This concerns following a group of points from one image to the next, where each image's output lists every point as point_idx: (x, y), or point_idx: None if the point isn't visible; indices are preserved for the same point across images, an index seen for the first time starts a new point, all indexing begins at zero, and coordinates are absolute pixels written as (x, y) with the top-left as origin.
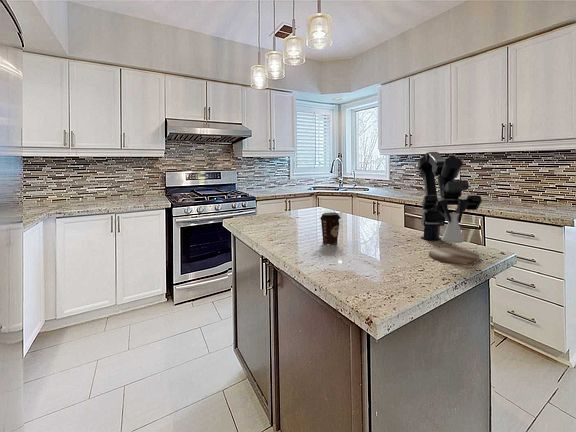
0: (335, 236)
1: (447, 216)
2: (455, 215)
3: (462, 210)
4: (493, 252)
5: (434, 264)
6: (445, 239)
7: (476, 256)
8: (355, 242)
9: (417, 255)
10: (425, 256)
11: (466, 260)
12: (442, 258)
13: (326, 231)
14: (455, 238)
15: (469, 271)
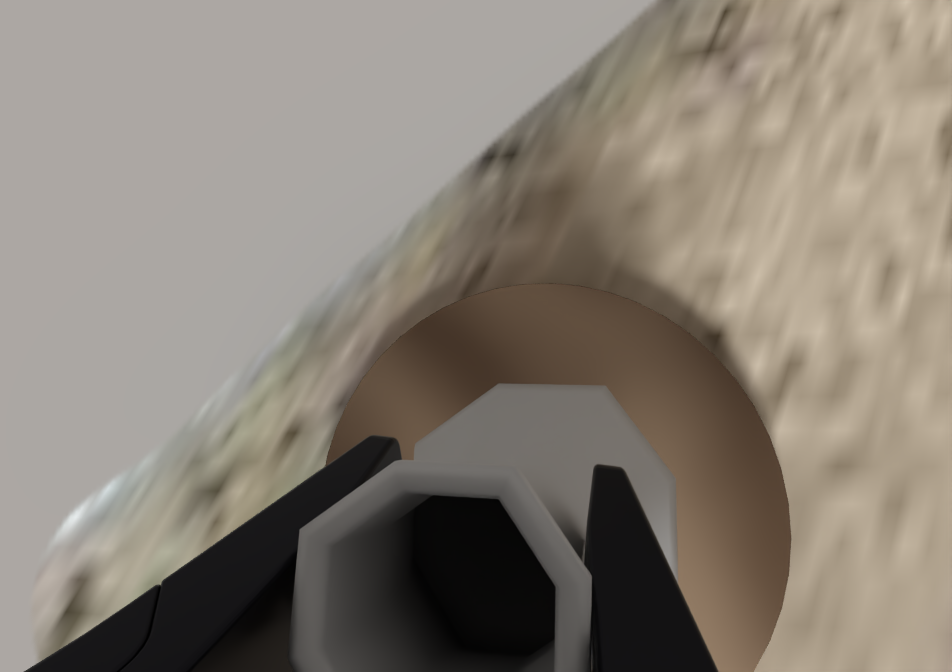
0: None
1: (669, 567)
2: (455, 472)
3: (101, 637)
4: None
5: (805, 270)
6: (658, 469)
7: (367, 412)
8: None
9: (918, 584)
10: (827, 539)
11: (511, 288)
12: (706, 349)
13: None
14: (545, 396)
15: (573, 124)
